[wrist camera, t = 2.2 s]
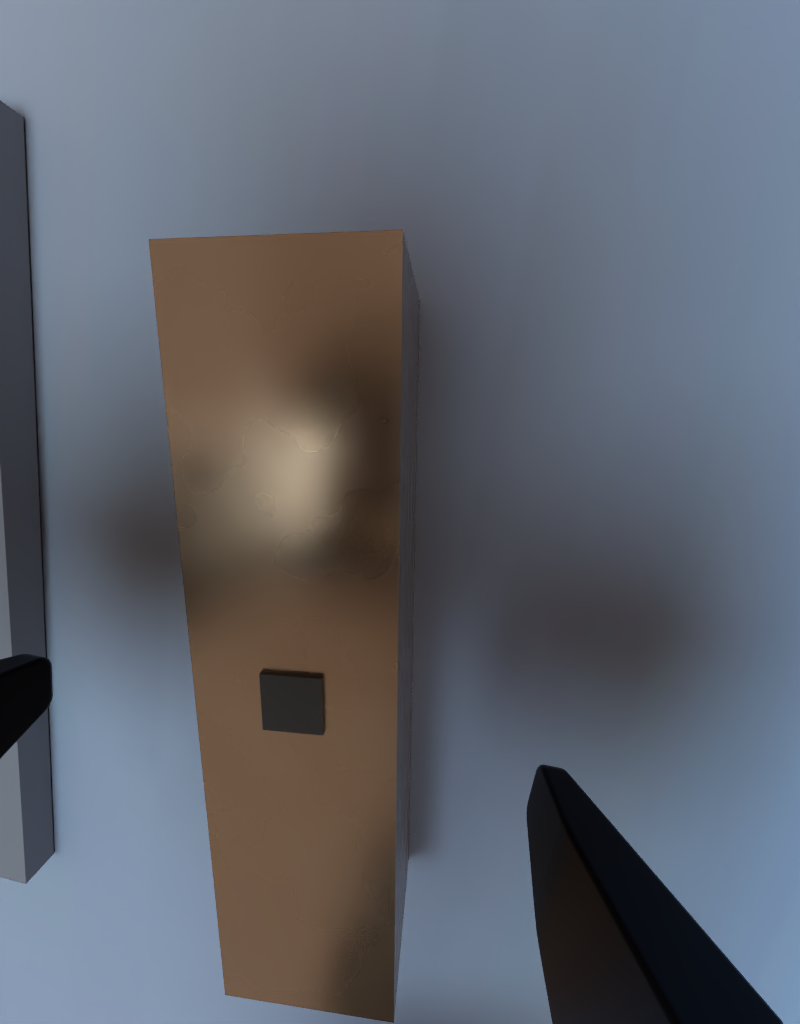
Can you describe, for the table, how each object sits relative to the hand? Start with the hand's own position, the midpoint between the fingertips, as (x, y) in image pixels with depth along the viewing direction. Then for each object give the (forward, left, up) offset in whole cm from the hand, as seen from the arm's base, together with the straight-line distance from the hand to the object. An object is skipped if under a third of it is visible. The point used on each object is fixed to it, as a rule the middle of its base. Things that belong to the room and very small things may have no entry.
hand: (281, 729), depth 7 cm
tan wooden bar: (0, 0, -5) cm, 5 cm away
